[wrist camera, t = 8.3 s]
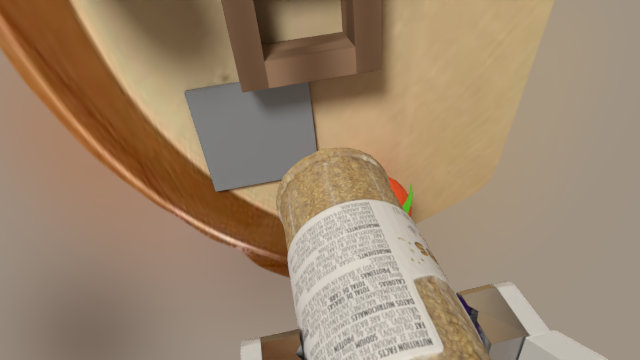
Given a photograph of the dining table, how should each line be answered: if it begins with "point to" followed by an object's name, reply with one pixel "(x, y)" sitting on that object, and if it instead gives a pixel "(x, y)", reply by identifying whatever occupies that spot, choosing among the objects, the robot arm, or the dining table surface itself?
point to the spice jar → (365, 268)
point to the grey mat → (252, 131)
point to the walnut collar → (305, 47)
